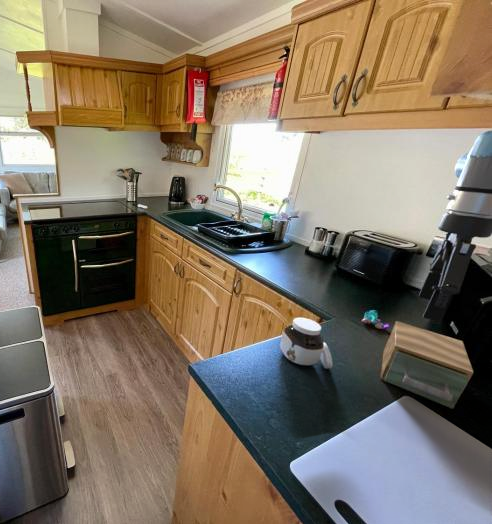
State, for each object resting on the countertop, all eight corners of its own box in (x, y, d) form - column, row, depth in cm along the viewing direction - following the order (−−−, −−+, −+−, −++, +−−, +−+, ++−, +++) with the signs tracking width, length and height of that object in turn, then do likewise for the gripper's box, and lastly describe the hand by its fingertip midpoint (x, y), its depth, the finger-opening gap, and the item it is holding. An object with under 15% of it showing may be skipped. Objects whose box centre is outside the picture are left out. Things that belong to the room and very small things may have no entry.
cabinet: (453, 408, 68) (473, 372, 65) (380, 379, 77) (395, 345, 73) (445, 373, 81) (462, 341, 77) (383, 351, 89) (396, 320, 85)
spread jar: (273, 349, 86) (282, 315, 82) (305, 345, 89) (315, 312, 85) (303, 377, 75) (315, 340, 71) (338, 372, 78) (351, 336, 74)
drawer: (455, 425, 63) (474, 393, 60) (383, 394, 70) (396, 364, 67) (444, 375, 79) (459, 347, 76) (386, 353, 86) (397, 328, 83)
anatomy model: (380, 321, 97) (394, 316, 99) (357, 310, 104) (370, 306, 106) (377, 334, 99) (390, 329, 101) (354, 322, 106) (367, 318, 108)
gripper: (438, 206, 69) (404, 286, 76) (455, 218, 51) (409, 322, 58) (483, 211, 65) (443, 296, 72) (520, 226, 46) (462, 338, 54)
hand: (428, 308), depth 65 cm, fingers open, 13 cm apart
